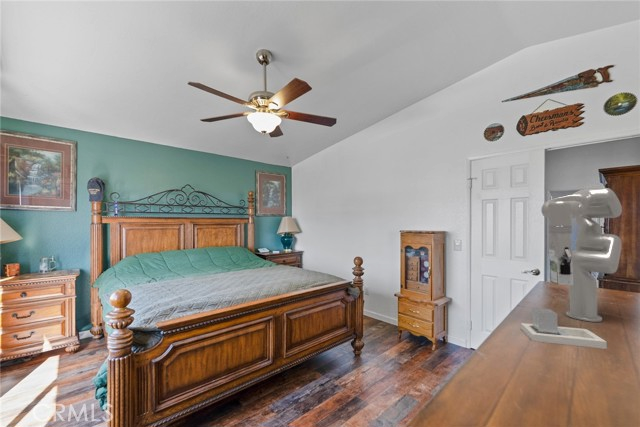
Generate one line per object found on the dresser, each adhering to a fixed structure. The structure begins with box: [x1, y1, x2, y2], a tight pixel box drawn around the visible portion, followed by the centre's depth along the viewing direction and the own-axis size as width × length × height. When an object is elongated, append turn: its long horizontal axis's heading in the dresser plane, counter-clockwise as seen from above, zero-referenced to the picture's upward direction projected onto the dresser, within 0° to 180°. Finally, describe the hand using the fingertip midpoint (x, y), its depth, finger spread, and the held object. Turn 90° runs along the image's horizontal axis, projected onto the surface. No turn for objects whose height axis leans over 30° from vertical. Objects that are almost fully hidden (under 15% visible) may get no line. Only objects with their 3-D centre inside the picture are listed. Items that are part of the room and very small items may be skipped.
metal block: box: [531, 307, 559, 335], centre depth 110 cm, size 6×6×10 cm
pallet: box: [520, 322, 608, 350], centre depth 109 cm, size 12×22×4 cm, turn 72°
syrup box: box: [548, 249, 573, 286], centre depth 120 cm, size 6×6×14 cm
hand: (561, 272), depth 120 cm, fingers closed on syrup box, 6 cm apart
